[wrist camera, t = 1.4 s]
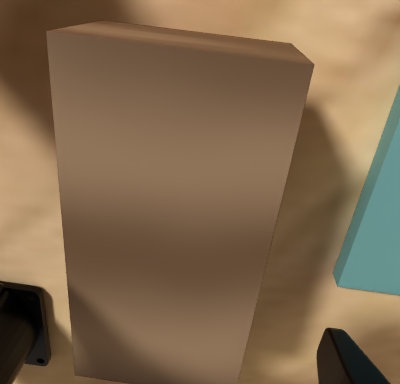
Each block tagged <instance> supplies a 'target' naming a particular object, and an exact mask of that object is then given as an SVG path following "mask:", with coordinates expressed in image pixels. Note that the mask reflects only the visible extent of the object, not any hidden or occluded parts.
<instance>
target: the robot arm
mask: <svg viewBox="0 0 400 384" xmlns="http://www.w3.org/2000/svg"><path fill="white" fill-rule="evenodd" d="M33 295H34V296H33ZM50 359H51V353H50V345H49V338H48V330H47V322H46V314H45V306H44V298H43V293H42V291H41V290H40V289H39V288H37V287H34V286H28V285H22V284H15V283H8V282H1V281H0V384H13V382H14V380H15V379H16V377H17V375H18V373H19V372H20V370H21V368H22V366H23V365H24V363H25V364H32V365H38V366H46V365H47V364H48V363H49V361H50ZM317 368H318V379H319V384H390V382H389V381H388V380H387V379H386V378H385V377H384V376H383V374H382V373H381V372H380V371H379V370H378V369H377V367H376V366H375V365H374V364H373V363H372V362H371V361H370V359H369V358H368V357H367V356H366V355H365V354H364V352H363V351H362V350H361V349H360V348H359V347H358V345H357V344H356V343H355V342H354V341H353V340H352V339H351V337H350V336H349V335H348V334H347V333H346V332H345V331H344V330H342V329H336V328H326V329H325V331H324V333H323V336H322V339H321V342H320V344H319V347H318V350H317Z"/></svg>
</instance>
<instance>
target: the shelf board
mask: <svg viewBox="0 0 400 384" xmlns="http://www.w3.org/2000/svg"><path fill="white" fill-rule="evenodd" d="M46 38H47V49H48V61H49V73H50V85H51V97H52V108H53V120H54V132H55V144H56V156H57V167H58V179H59V191H60V203H61V215H62V226H63V238H64V250H65V262H66V274H67V285H68V297H69V309H70V321H71V333H72V344H73V356H74V368H75V375H76V376H83V377H89V378H96V379H102V380H109V381H116V382H122V383H129V384H237V383H238V379H239V374H240V370H241V366H242V362H243V358H244V354H245V350H246V346H247V341H248V337H249V333H250V329H251V325H252V321H253V317H254V312H255V308H256V304H257V300H258V296H259V292H260V288H261V283H262V279H263V275H264V271H265V267H266V263H267V259H268V254H269V250H270V246H271V242H272V238H273V234H274V230H275V225H276V221H277V217H278V213H279V209H280V205H281V201H282V197H283V192H284V188H285V184H286V180H287V176H288V172H289V168H290V163H291V159H292V155H293V151H294V147H295V143H296V139H297V134H298V130H299V126H300V122H301V118H302V114H303V110H304V105H305V101H306V97H307V93H308V89H309V85H310V81H311V77H312V72H313V68H314V64H313V63H312V62H311V61H310V60H309V59H308V58H307V57H306V56H304V55H303V54H302V53H301V52H300V51H299V50H298V49H297V48H296V47H294V46H293V45H292V44H291V43H283V42H275V41H267V40H259V39H251V38H243V37H234V36H226V35H218V34H210V33H202V32H194V31H186V30H177V29H169V28H161V27H153V26H145V25H137V24H129V23H121V22H112V21H104V20H102V21H97V22H91V23H86V24H81V25H75V26H70V27H65V28H59V29H54V30H49V31H46Z"/></svg>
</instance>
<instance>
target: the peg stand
mask: <svg viewBox="0 0 400 384" xmlns="http://www.w3.org/2000/svg"><path fill="white" fill-rule="evenodd" d="M333 275H334V278H335V281H336V284H337V287H344V288H351V289H359V290H366V291H373V292H380V293H387V294H394V295H400V86H399V89H398V91H397V94H396V97H395V100H394V103H393V105H392V108H391V111H390V114H389V117H388V119H387V122H386V125H385V128H384V131H383V134H382V136H381V139H380V142H379V145H378V148H377V150H376V153H375V156H374V159H373V162H372V165H371V167H370V170H369V173H368V176H367V179H366V181H365V184H364V187H363V190H362V193H361V195H360V198H359V201H358V204H357V207H356V210H355V212H354V215H353V218H352V221H351V224H350V226H349V229H348V232H347V235H346V238H345V240H344V243H343V246H342V249H341V252H340V255H339V257H338V260H337V263H336V266H335V269H334V271H333Z"/></svg>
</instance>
